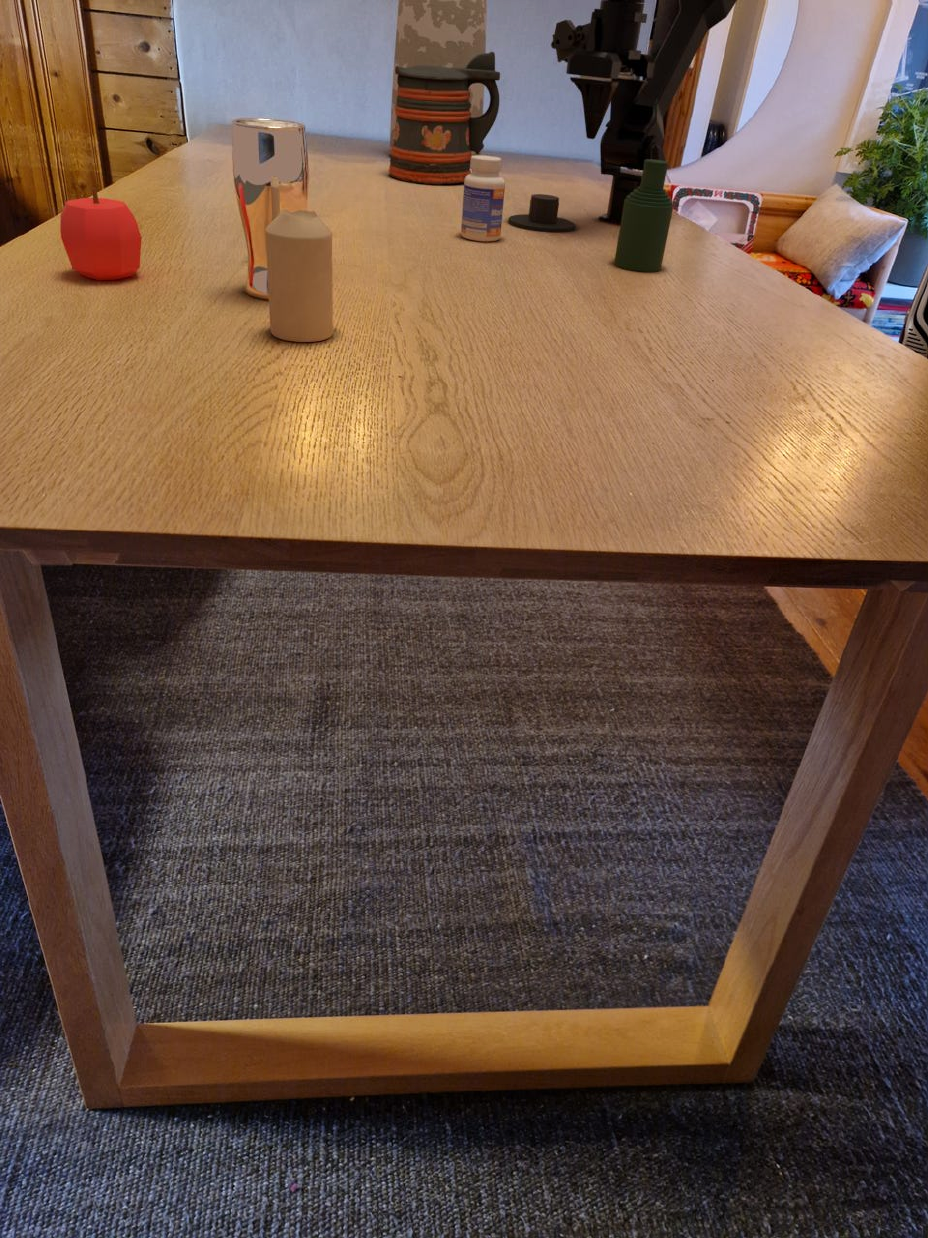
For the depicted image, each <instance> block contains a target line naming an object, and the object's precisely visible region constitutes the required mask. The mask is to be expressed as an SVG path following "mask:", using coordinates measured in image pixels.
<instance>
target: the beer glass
mask: <svg viewBox="0 0 928 1238" xmlns="http://www.w3.org/2000/svg"><path fill="white" fill-rule="evenodd" d="M231 122H232V123H231V124H232V142H231V143H232V144H231V145H232V152H231V153H232V154H231V155H232V174H233V175H232V176H233V185H234V192H235V198H236V203H237V207H238V213H239V216H240V220H241V221H240V222H241V226H242V229H243V233H244V238H245V239H244V240H245V243H246V250H247V273H246V281H245V292H246V294H247V295H249V296H250V297H253V298H257V299H261V300H268V301H269V295H268V275H267V255H266V235H265V229H266V228H267V226H268V225H269V224H270V223H271V222H272V221H273V220H274V219H275V218H276V217H277V216H278V215H279V214H280V212H281V211H282V210H284V209H285V210H288V211H290V212H295V211H298V210H305V211H308V203H309V193H310V191H309V190H310V189H309V188H310V181H309V180H310V175H309V174H310V173H309V171H310V170H309V157H308V156H309V155H308V146H307V145H308V144H307V135H306V125H305V124H304V123H301V122H297V121H291V120H284V119H275V118H262V117H261V118H259V117H244V118H243V117H241V118H233V119H232V120H231Z"/></svg>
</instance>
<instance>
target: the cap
mask: <svg viewBox="0 0 928 1238" xmlns="http://www.w3.org/2000/svg"><path fill="white" fill-rule="evenodd" d="M559 205H560V198H559V196H557V195H551V194H543V193H541V194H540V193H535V194H531V196H530V202H529V210H528V214H529V217H528V218H529V221H531V222H535V223H541V224H554V223H556V221H557V217H558V213H559Z"/></svg>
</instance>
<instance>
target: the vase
mask: <svg viewBox="0 0 928 1238" xmlns="http://www.w3.org/2000/svg"><path fill="white" fill-rule="evenodd" d="M487 3H488V2H487V0H398V6H397V15H396V16H397V17H396V30H395V45H394V57H393V73H392V86H391V87H392V88H391V89H392V90H391V107H390V131H389V154H390V155H391V147H392V145H393V144H394V135H395V125H396V114H395V111H396V102H397V96H398V94H397V92H398V84H397V77H398V75H397V74H396V73H395V68H396V66H400V67H403V68H408V67H413V66H441V67H447V68H466V66H467V64H468V63H469V61H470V60H471V59H472V58H473V57H475V56H477V55H479V54H483V53H487V51H486V49H487V48H486V47H487V17H488V15H487V14H488V11H487V7H488V5H487ZM468 91H469V92H470V98H469V102H470V103H471V107H470V109H469V110H470V112H471V117H472V118H474V117H480V116H482V115H483V114H484V105H485V103H484V101H485V85H483V84H481V83H475V84H472V85H470V87H469V89H468ZM481 151H482V150H481ZM481 151H480V152H479V154H478V155H481V153H482V152H481ZM471 153H472V156H476V155H477V154H476V152H474V151H471ZM470 162H471V159H470Z"/></svg>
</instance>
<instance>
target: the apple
mask: <svg viewBox="0 0 928 1238" xmlns="http://www.w3.org/2000/svg"><path fill="white" fill-rule="evenodd" d="M91 190H92V191H91V192H92V197H83V198H82V197H81V198H76V199H70V200H66V202H65V204H64V206H63V208H62V210H61V213H60V221H59V222H60V223H59V225H60V227H59V229H60V239H61V241H62V242H61V243H62V244H63V247H64V250H65V252H66V255H67V259H68V260H69V264H70V266H71V268H72V270H74V271H76V272H78V273H79V274H81V275H82V276H84V277H85V278H87V279H92V280H94V281H95V280H96V281H115V280H116V281H117V280H122V279H126V278H131V277H132V276H133V275H134V274H135V273H136V272H137V271H138V270H139V269H140V268H141V256H142V255H141V253H142V252H141V251H142V235H141V231H140V228H139V225H138V221H137V219H136V217H135V214H133V212H132V211H131V209H130V207H129V206H128V205H127V203H126V202H125V201H122V200H117V199H111V198H106V197H105V198H103V197H99V195H98V192H97V188H96V187H92V188H91Z"/></svg>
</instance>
